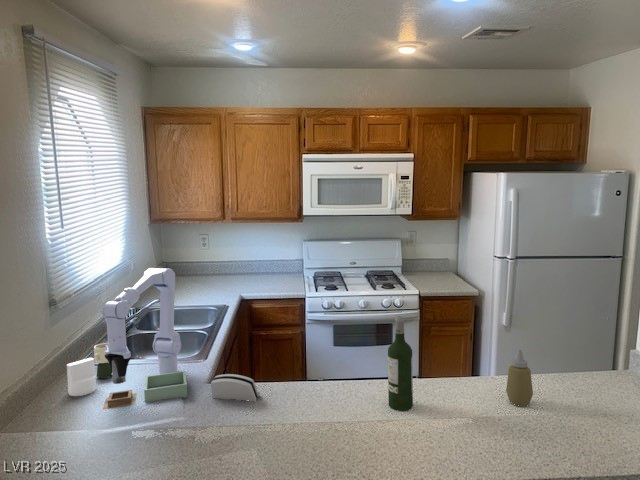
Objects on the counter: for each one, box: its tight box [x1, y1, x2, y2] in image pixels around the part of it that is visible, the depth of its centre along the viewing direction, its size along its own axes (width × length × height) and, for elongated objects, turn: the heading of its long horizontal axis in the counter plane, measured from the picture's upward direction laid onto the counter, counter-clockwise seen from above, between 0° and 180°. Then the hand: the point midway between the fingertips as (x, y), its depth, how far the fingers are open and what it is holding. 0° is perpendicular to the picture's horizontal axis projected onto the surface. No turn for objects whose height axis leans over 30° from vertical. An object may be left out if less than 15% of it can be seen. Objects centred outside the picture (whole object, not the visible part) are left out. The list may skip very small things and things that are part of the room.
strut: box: [112, 359, 127, 385], centre depth 154 cm, size 4×4×8 cm
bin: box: [143, 370, 188, 403], centre depth 163 cm, size 14×14×5 cm
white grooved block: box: [66, 357, 97, 397], centre depth 164 cm, size 9×9×12 cm
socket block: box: [102, 389, 138, 410], centre depth 155 cm, size 10×10×3 cm
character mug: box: [93, 342, 113, 379], centre depth 180 cm, size 11×7×13 cm, turn 172°
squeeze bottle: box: [505, 349, 534, 407], centre depth 147 cm, size 8×8×18 cm
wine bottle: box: [387, 315, 414, 412], centre depth 147 cm, size 8×8×30 cm
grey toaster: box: [210, 373, 261, 402], centre depth 157 cm, size 17×5×10 cm, turn 76°
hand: (119, 374), depth 154 cm, fingers closed on strut, 4 cm apart
